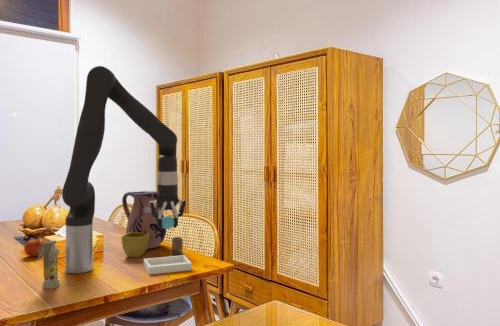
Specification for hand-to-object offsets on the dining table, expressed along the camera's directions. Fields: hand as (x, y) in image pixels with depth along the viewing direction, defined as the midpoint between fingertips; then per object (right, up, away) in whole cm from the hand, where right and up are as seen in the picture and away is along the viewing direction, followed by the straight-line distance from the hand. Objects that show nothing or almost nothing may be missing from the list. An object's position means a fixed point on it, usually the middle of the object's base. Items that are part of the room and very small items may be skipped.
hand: (167, 227), depth 159 cm
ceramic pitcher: (-17, -14, +32) cm, 39 cm away
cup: (+1, -15, +16) cm, 22 cm away
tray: (0, -15, +1) cm, 15 cm away
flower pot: (-17, -15, +17) cm, 28 cm away
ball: (0, +2, 0) cm, 2 cm away
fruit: (-58, -14, +14) cm, 61 cm away
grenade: (-35, -16, -22) cm, 45 cm away
